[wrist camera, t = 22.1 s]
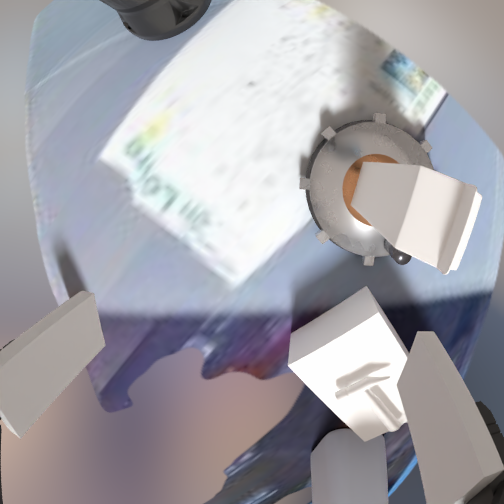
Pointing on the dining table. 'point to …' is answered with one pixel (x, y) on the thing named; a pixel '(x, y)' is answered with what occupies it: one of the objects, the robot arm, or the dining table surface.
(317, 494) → the plastic bottle
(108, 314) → the dining table surface
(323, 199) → the sprocket
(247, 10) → the dining table surface
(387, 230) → the milk
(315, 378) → the tissue box
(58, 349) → the robot arm
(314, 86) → the dining table surface
